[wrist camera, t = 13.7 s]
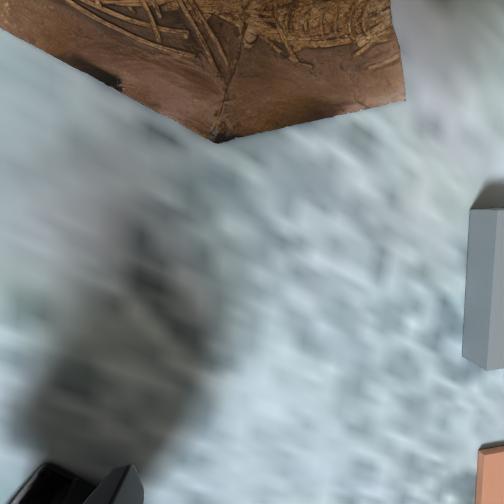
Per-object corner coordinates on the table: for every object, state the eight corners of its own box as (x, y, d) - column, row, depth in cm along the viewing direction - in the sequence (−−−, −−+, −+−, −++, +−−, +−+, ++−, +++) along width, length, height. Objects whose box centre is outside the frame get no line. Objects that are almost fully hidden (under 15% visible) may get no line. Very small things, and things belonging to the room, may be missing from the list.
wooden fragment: (429, -4, 19) (442, -15, 18) (379, 186, 20) (388, 186, 19) (-86, -199, 15) (-107, -229, 14) (-107, 63, 16) (-128, 53, 15)
